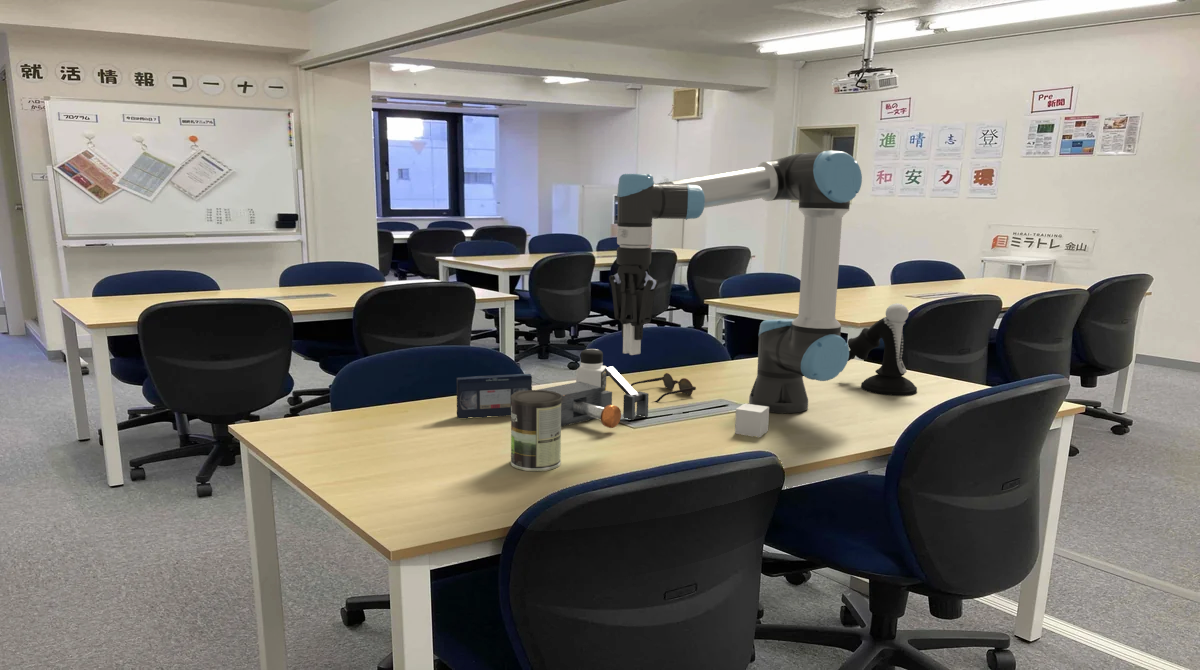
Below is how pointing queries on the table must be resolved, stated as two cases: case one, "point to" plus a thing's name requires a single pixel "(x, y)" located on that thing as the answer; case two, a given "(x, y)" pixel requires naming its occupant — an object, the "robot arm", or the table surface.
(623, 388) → the keeper
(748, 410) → the white cube
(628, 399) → the bracket
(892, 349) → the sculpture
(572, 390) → the hitch block
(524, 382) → the vhs cassette tape
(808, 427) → the table surface
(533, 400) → the coffee can
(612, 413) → the pin
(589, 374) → the medicine bottle
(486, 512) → the table surface
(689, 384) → the eyeglasses
